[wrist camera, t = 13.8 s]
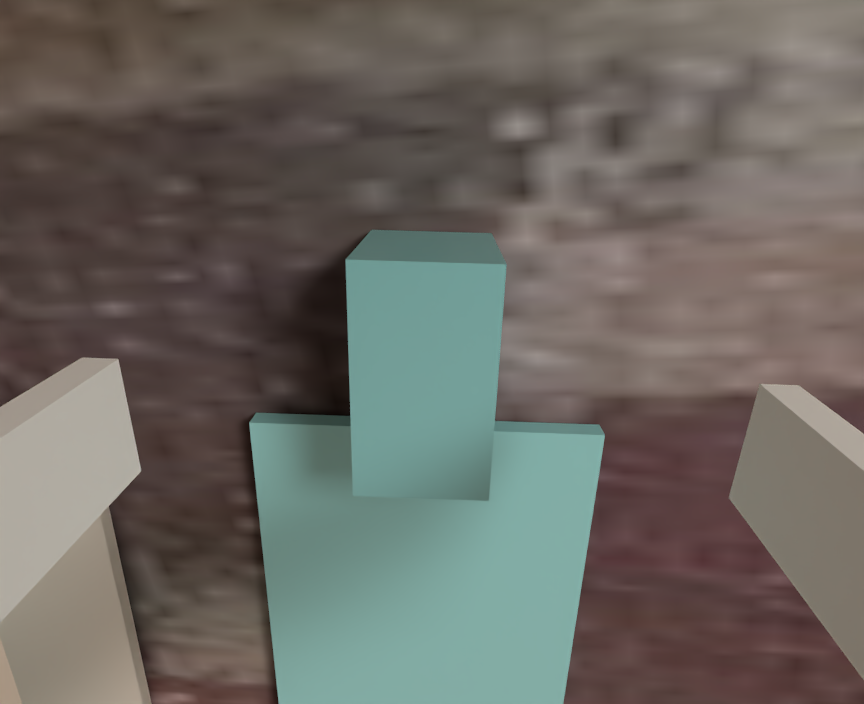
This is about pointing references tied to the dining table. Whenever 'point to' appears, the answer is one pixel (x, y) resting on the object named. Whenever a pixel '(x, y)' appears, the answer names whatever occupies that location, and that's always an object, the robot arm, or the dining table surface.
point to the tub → (75, 631)
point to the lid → (423, 501)
